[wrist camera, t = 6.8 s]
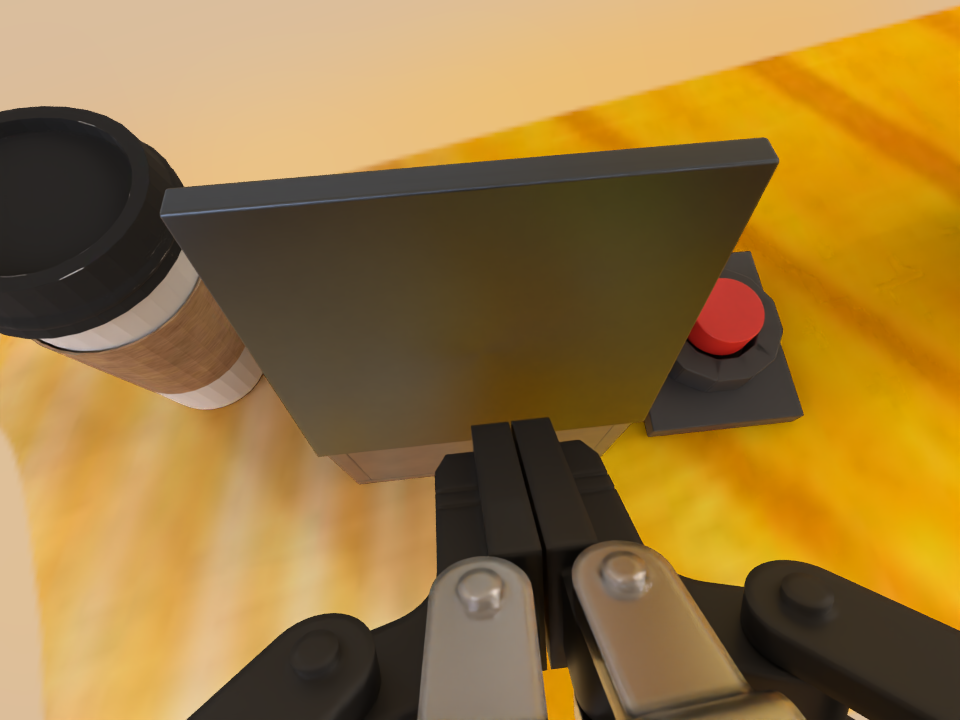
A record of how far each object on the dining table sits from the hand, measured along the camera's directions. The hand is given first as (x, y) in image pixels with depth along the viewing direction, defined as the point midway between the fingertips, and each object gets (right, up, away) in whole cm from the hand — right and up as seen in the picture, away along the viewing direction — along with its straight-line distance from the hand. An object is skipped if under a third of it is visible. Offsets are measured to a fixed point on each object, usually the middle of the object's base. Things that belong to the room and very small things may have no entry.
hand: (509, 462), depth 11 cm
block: (+12, +3, +22) cm, 25 cm away
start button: (+12, +4, +19) cm, 23 cm away
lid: (-1, +3, +6) cm, 7 cm away
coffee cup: (-15, +2, +21) cm, 26 cm away
